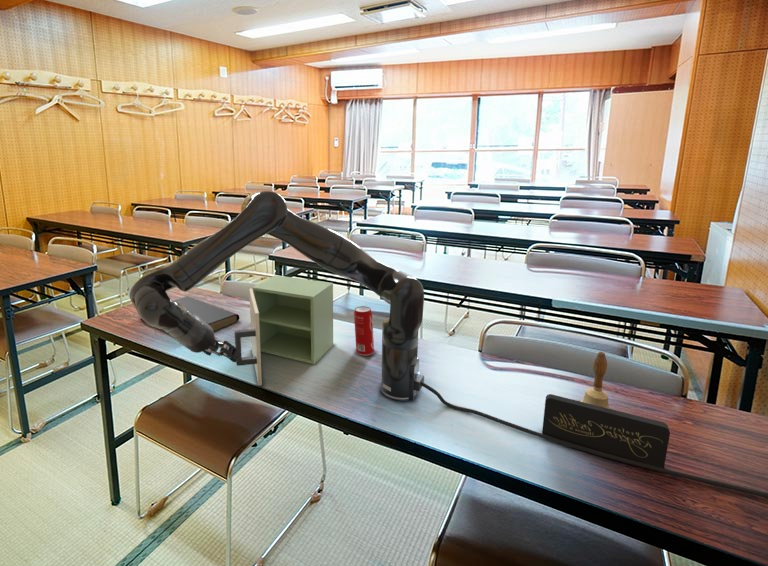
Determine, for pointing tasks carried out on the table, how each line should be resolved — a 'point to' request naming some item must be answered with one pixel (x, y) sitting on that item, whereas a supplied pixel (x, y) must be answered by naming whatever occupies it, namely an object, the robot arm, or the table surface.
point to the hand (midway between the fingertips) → (223, 355)
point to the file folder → (209, 313)
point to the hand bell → (597, 384)
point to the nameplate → (606, 430)
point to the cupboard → (295, 317)
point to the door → (255, 338)
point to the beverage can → (364, 330)
